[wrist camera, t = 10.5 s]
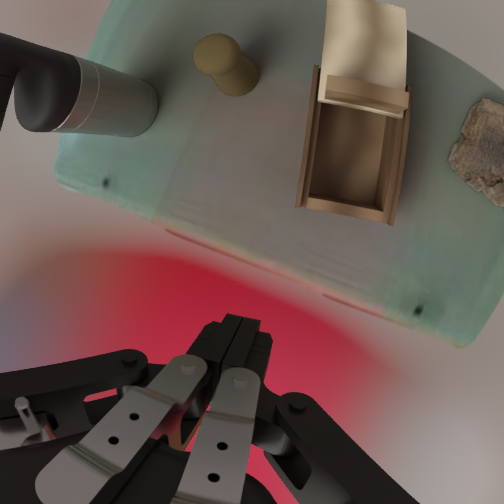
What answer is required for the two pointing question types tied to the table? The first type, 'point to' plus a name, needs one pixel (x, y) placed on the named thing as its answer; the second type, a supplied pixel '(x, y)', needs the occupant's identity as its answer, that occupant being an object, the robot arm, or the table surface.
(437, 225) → the table surface
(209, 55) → the tan pawn
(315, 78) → the lid box
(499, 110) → the clay tablet
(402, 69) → the cover plate
